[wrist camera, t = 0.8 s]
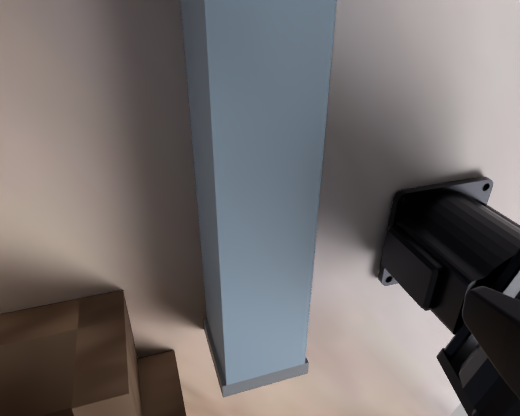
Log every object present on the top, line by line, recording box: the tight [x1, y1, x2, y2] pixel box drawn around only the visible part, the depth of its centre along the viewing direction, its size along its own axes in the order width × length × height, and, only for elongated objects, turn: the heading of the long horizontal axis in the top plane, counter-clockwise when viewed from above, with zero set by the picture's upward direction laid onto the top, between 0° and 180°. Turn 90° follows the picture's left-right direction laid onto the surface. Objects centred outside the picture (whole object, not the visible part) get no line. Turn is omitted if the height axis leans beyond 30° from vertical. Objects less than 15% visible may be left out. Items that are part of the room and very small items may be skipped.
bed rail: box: [180, 0, 337, 397], centre depth 17 cm, size 4×22×4 cm, turn 179°
